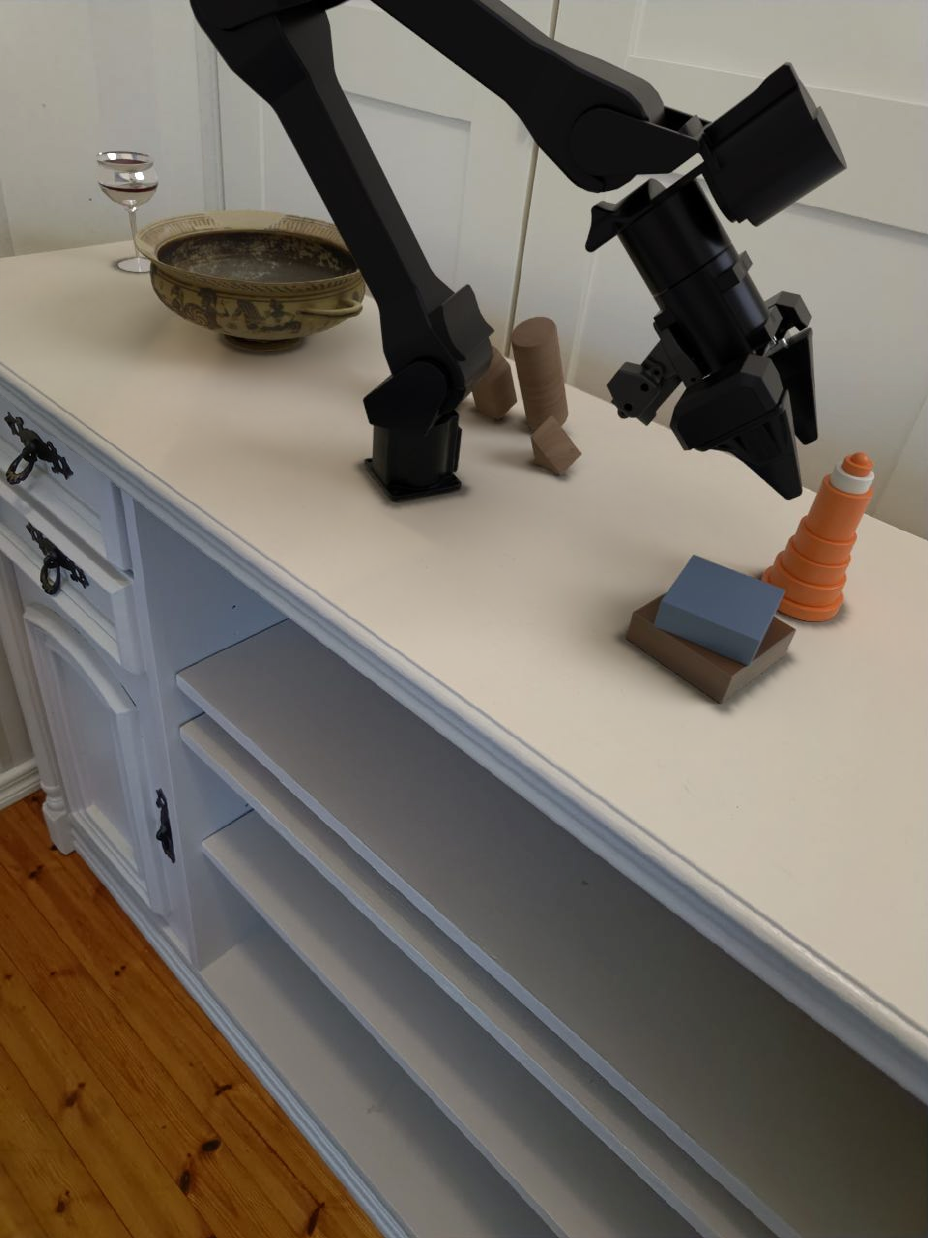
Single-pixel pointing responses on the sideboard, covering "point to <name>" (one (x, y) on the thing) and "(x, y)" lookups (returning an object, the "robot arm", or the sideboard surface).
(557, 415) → the wooden block set
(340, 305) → the ceramic bowl
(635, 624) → the base block
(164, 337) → the sideboard surface
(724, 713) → the sideboard surface
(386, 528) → the sideboard surface
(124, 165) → the wineglass
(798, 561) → the cone
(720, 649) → the top block
